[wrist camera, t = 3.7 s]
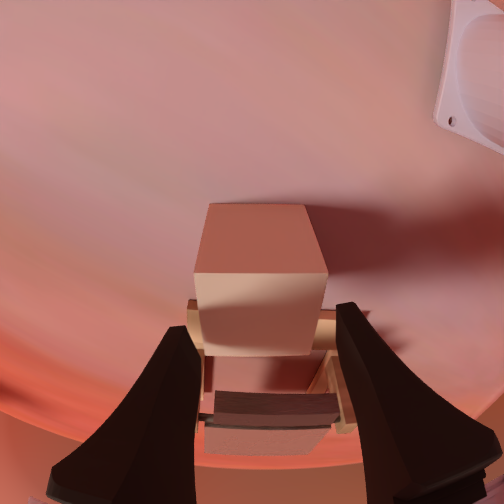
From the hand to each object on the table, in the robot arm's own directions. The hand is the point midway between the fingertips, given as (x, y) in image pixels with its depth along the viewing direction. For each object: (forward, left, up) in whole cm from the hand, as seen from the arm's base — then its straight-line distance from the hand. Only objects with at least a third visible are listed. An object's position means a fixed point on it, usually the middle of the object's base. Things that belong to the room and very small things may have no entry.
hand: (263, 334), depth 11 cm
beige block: (0, 0, -6) cm, 6 cm away
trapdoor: (-2, +9, -1) cm, 9 cm away
